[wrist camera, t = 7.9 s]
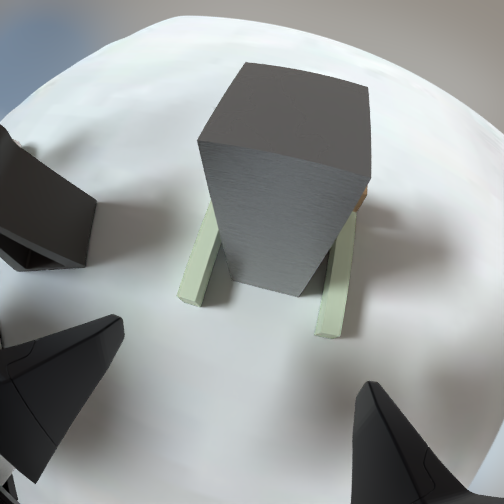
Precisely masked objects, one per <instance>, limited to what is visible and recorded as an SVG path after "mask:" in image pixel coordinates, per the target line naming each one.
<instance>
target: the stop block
mask: <svg viewBox="0 0 504 504" xmlns="http://www.w3.org/2000/svg"><path fill="white" fill-rule="evenodd" d="M197 142H198V146H199V151H200V155H201V159H202V164H203V168H204V172H205V176H206V180H207V185H208V189H209V193H210V197H211V201H212V205H213V209H214V213H215V217H216V221H217V225H218V229H219V233H220V237H221V241H222V245H223V249H224V253H225V256H226V260H227V264H228V268H229V272H230V275H231V279H232V280H233V281H236V282H240V283H244V284H248V285H252V286H256V287H260V288H263V289H267V290H271V291H275V292H279V293H283V294H287V295H291V296H295V297H299V296H300V294H301V293H302V291H303V290H304V288H305V287H306V285H307V284H308V282H309V281H310V279H311V277H312V276H313V274H314V273H315V271H316V270H317V268H318V267H319V265H320V263H321V262H322V260H323V259H324V257H325V256H326V254H327V252H328V251H329V249H330V248H331V246H332V244H333V243H334V241H335V239H336V238H337V236H338V235H339V233H340V231H341V230H342V228H343V226H344V225H345V223H346V221H347V220H348V218H349V216H350V215H351V213H352V211H353V209H354V208H355V206H356V204H357V202H358V201H359V199H360V197H361V195H362V194H363V192H364V190H365V188H366V187H367V185H368V183H369V181H370V179H371V125H370V107H369V93H368V87H366V86H362V85H359V84H356V83H352V82H349V81H345V80H341V79H337V78H334V77H330V76H325V75H321V74H317V73H312V72H307V71H302V70H297V69H291V68H285V67H279V66H272V65H265V64H257V63H248V62H245V64H244V65H243V67H242V68H241V70H240V71H239V73H238V74H237V76H236V77H235V79H234V80H233V82H232V83H231V85H230V86H229V88H228V89H227V91H226V92H225V94H224V96H223V97H222V99H221V100H220V102H219V104H218V105H217V107H216V109H215V110H214V112H213V114H212V115H211V117H210V119H209V120H208V122H207V124H206V125H205V127H204V129H203V131H202V132H201V134H200V136H199V138H198V140H197Z"/></svg>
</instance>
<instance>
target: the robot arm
mask: <svg viewBox="0 0 504 504" xmlns="http://www.w3.org/2000/svg"><path fill="white" fill-rule="evenodd" d="M124 335H125V333H124V325H123V319H122V318H121V317H119V316H117V315H114V314H111V315H108V316H105V317H102V318H99V319H96V320H93V321H91V322H88V323H85V324H82V325H79V326H76V327H73V328H70V329H67V330H64V331H61V332H58V333H55V334H51V335H48V336H45V337H42V338H39V339H36V340H33V341H30V342H27V343H23V344H20V345H17V346H13V347H8V348H4V349H0V504H20V503H19V502H18V501H17V500H18V497H17V493H16V489H15V484H14V480H13V475H12V472H13V471H14V469H15V468H16V469H17V470H18V471H19V472H21V473H22V474H23V475H24V476H26V477H27V478H28V479H29V480H31V481H32V482H33V483H35V484H36V483H37V481H38V480H39V478H40V476H41V474H42V473H43V471H44V469H45V467H46V466H47V464H48V462H49V460H50V459H51V457H52V455H53V454H54V452H55V450H56V449H57V447H58V445H59V443H60V442H61V440H62V438H63V437H64V435H65V434H66V432H67V430H68V429H69V427H70V426H71V424H72V422H73V421H74V419H75V418H76V416H77V415H78V413H79V411H80V410H81V408H82V407H83V405H84V404H85V402H86V401H87V399H88V398H89V396H90V395H91V393H92V392H93V390H94V389H95V387H96V386H97V384H98V383H99V381H100V380H101V378H102V377H103V375H104V374H105V372H106V371H107V369H108V367H109V366H110V364H111V362H112V360H113V358H114V356H115V354H116V353H117V351H118V349H119V347H120V345H121V343H122V342H123V340H124ZM352 445H353V457H352V493H351V504H504V498H498V497H491V496H484V495H478V494H475V493H472V492H470V491H469V490H467V489H466V488H465V487H464V486H463V485H462V484H461V483H460V482H459V481H458V480H457V479H456V478H455V477H454V475H453V474H452V473H451V472H450V471H449V470H448V469H447V468H446V467H445V466H444V465H443V464H442V463H441V461H440V460H439V459H438V458H437V456H436V455H435V454H434V453H433V451H432V450H431V449H430V448H429V447H428V445H427V444H426V442H425V441H424V440H423V439H422V437H421V436H420V435H419V433H418V432H417V431H416V430H415V428H414V427H413V426H412V425H411V423H410V422H409V421H408V419H407V418H406V417H405V416H404V414H403V413H402V412H401V411H400V409H399V408H398V407H397V406H396V404H395V403H394V402H393V400H392V399H391V398H390V397H389V395H388V394H387V393H386V392H385V390H384V389H383V388H382V387H381V385H380V384H379V383H378V382H374V381H367V382H366V383H365V384H364V386H363V387H362V389H361V390H360V392H359V393H358V395H357V397H356V402H355V415H354V426H353V440H352Z"/></svg>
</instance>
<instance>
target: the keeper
mask: <svg viewBox="0 0 504 504" xmlns="http://www.w3.org/2000/svg"><path fill="white" fill-rule="evenodd" d="M366 196H367V187H366V188H365V190H364V192H363V194H362V195H361V197H360V199H359V201H358V202H357V204H356V206H355V208H354V209H353V211H352V213H351V215H350V216H349V218H348V220H347V221H346V223H345V225H344V226H343V228H342V230H341V231H340V233H339V235H338V236H337V238H336V239H335V241H334V243H333V244H332V246H331V248H330V253H329V259H328V266H327V272H326V277H325V283H324V289H323V294H322V300H321V305H320V310H319V315H318V320H317V325H316V329H315V334H314V335H315V336H320V337H325V338H330V339H333V338H336V337H339V336H340V334H341V329H342V323H343V318H344V312H345V306H346V300H347V293H348V287H349V279H350V272H351V264H352V256H353V247H354V237H355V226H356V214H357V211H358V209H359V208H360V206H361V204H362V203H363V201H364V199H365V198H366ZM221 242H222V241H221V237H220V233H219V229H218V225H217V221H216V217H215V213H214V209H213V205H212V201H210V204H209V206H208V209H207V211H206V214H205V217H204V219H203V222H202V225H201V227H200V230H199V233H198V235H197V238H196V241H195V244H194V246H193V249H192V252H191V255H190V258H189V260H188V263H187V266H186V269H185V272H184V275H183V278H182V281H181V284H180V287H179V290H178V293H177V297H178V298H179V299H180V300H182V301H183V302H184V303H188V304H191V305H194V306H198V307H201V304H202V301H203V298H204V295H205V292H206V288H207V285H208V282H209V279H210V276H211V272H212V269H213V266H214V263H215V260H216V257H217V254H218V251H219V248H220V245H221Z"/></svg>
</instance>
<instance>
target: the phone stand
mask: <svg viewBox="0 0 504 504" xmlns="http://www.w3.org/2000/svg"><path fill="white" fill-rule="evenodd" d="M96 202H97V200H96V199H94V198H93V197H91V196H90V195H88V194H87V193H85V192H84V191H82V190H81V189H79V188H78V187H76V186H75V185H73V184H72V183H70V182H69V181H67V180H66V179H65V178H63V177H62V176H60V175H59V174H57V173H56V172H54V171H53V170H52V169H50V168H49V167H47V166H46V165H44V164H43V163H42V162H40V161H39V160H37V159H36V158H35V157H33V156H32V155H30V154H29V153H28V152H26V151H25V150H23V149H22V148H21V147H19V146H18V145H17V144H16V143H15V142H14V141H13V139H12V138H11V136H10V135H9V133H8V131H7V130H6V129H5V128H4V127H3V126H2V125H0V257H1V258H2V259H3V260H4V261H5V262H6V263H7V264H9V265H10V266H11V267H12V268H13V269H14V270H16V271H19V272H21V271H38V270H46V269H48V270H54V269H71V268H84V267H85V262H86V255H87V249H88V243H89V237H90V231H91V226H92V221H93V216H94V211H95V207H96Z"/></svg>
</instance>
